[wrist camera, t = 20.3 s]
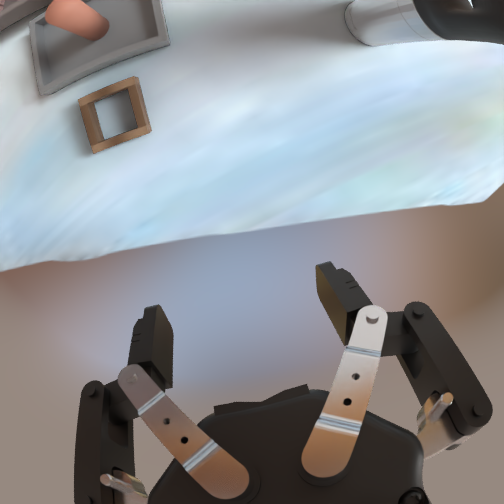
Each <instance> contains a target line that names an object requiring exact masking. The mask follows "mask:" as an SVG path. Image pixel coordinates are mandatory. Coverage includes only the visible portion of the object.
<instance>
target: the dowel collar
mask: <svg viewBox="0 0 504 504" xmlns="http://www.w3.org/2000/svg"><path fill="white" fill-rule="evenodd" d="M127 89H128V92H129V96H130V100H131V104H132V107H133V111H134V115H135V119H136V122H137V126H138V128H136V129H133V130H130V131H127V132H125V133H122V134H119V135H117V136H114V137H111V138H109V139H106V140H104V137H103V134H102V130H101V127H100V123H99V120H98V116H97V112H96V109H95V105H94V103H95V102H97V101H99V100H102V99H104V98H106V97H109V96H111V95H114V94H116V93H119V92H121V91H124V90H127ZM78 102H79V106H80V110H81V113H82V117H83V121H84V124H85V128H86V131H87V135H88V138H89V141H90V144H91V148H92V151H93V154H95V153H97V152H99V151H102V150H104V149H107V148H109V147H112V146H115V145H117V144H120V143H123V142H125V141H128V140H131V139H134V138H137V137H139V136H142V135H145V134H148V133H150V132H151V131H152V130H151V126H150V122H149V119H148V115H147V111H146V107H145V103H144V99H143V95H142V91H141V87H140V83H139V79H138V77H135V76H133V77H130V78H127V79H125V80H122V81H120V82H117V83H114V84H112V85H110V86H107V87H105V88H102V89H100V90H98V91H96V92H93V93H91V94H89V95H87V96H85V97H82V98H80V99H78Z"/></svg>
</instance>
